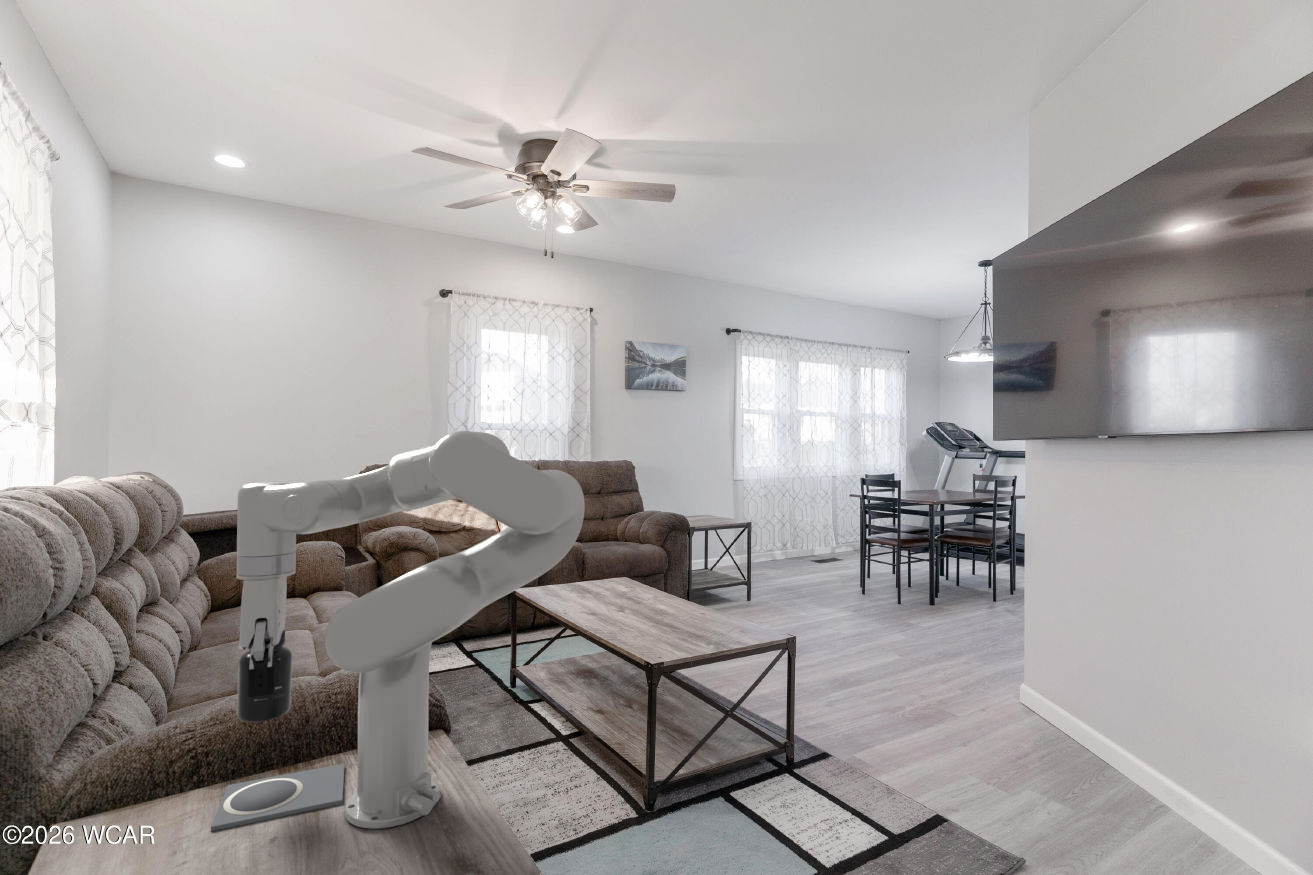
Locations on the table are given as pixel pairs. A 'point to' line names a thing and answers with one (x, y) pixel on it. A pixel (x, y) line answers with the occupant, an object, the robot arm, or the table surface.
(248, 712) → the supplement bottle
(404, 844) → the table surface
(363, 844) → the table surface
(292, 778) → the mat
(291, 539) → the robot arm
